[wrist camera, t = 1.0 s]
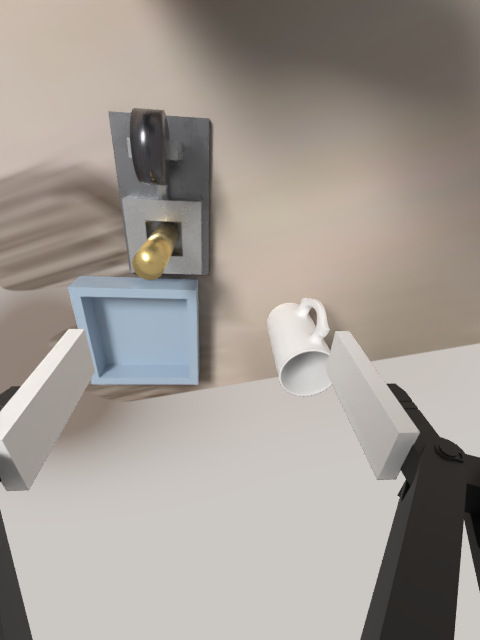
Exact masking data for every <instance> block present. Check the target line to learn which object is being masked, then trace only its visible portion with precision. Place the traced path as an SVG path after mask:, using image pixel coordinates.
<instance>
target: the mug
mask: <svg viewBox="0 0 480 640" xmlns="http://www.w3.org/2000/svg"><path fill="white" fill-rule="evenodd" d="M311 308H314V309H315V311H316V313H317V325H315V324H314V322H313V320H312V319H311V317H310V315H309V314H308V313H309V311H310V309H311ZM267 328H268V332H269V337H270V342H271V346H272V350H273V355H274V359H275V364H276V368H277V372H278V376H279V381H280V384H281V386H282V387H283V388H284V390H286V391H287V392H288V393H290V394H292V395H296V396H303V397H304V396H312V395H316V394H319V393H321V392H323V391H324V390H326V389H327V388H328V387H330V386H331V385H332V383H331V381H330V379H329V377H328V374H327V372H326V368H327V364H328V360H329V356H330V349H329V347H328V346H327V344H326V342H325V341H324V339H323V338H324V337H326V336H327V334H328V332H329V331H330V329H329V327H328V321H327V315H326V311H325V308H324V306H323V304H322V303H321V302H320V301H318V300H315V299H310V298H303V299H302V301H301V304H300V305H299V304H296V303H284V304H281V305H279V306H277V307H276V308H274V309H273V310H272V311H271V313H270V314H269V316H268V319H267Z"/></svg>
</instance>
